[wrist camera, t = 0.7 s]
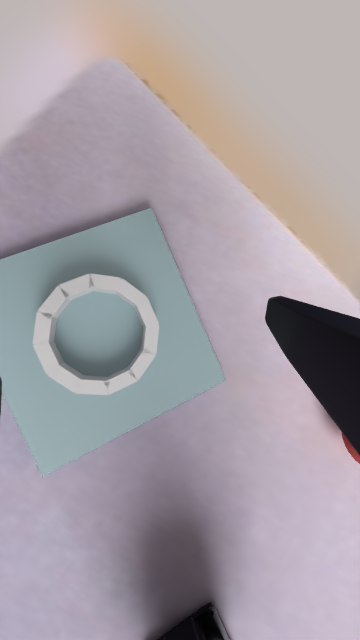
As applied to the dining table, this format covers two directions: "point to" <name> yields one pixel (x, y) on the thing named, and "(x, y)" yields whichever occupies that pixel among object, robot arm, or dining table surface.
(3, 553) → the dining table surface
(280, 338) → the robot arm
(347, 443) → the onion
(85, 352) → the board
